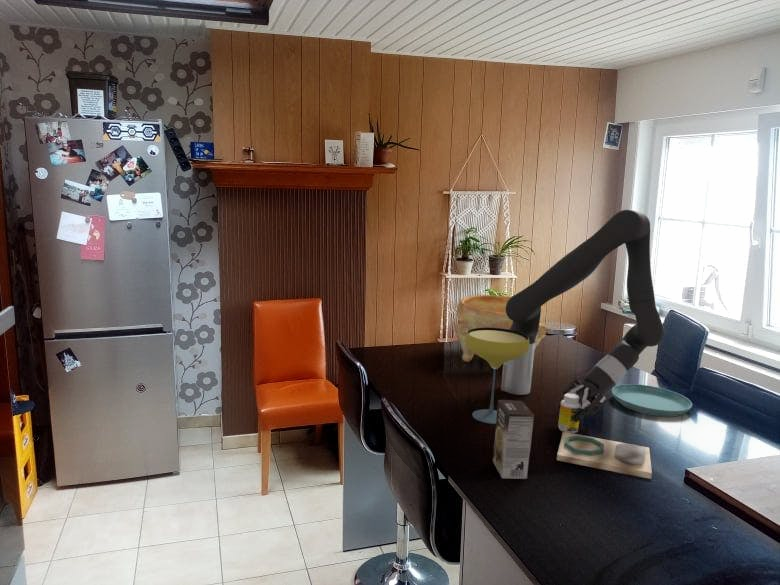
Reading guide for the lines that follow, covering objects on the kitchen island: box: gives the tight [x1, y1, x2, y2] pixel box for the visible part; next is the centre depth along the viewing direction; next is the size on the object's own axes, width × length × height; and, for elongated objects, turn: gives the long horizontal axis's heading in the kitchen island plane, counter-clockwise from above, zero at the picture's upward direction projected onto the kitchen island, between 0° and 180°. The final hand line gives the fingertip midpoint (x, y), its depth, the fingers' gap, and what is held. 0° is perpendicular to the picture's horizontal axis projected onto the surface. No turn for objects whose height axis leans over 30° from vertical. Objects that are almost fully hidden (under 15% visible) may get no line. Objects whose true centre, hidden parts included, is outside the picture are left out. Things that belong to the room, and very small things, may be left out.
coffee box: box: [492, 399, 535, 480], centre depth 145 cm, size 9×6×16 cm
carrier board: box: [556, 431, 653, 480], centre depth 157 cm, size 22×16×4 cm
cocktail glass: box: [466, 328, 529, 425], centre depth 178 cm, size 18×18×25 cm
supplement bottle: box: [557, 392, 582, 434], centre depth 173 cm, size 6×6×10 cm
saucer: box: [611, 383, 693, 417], centre depth 198 cm, size 24×24×3 cm
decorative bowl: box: [453, 294, 547, 363], centre depth 241 cm, size 34×35×23 cm
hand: (565, 414), depth 172 cm, fingers open, 8 cm apart
